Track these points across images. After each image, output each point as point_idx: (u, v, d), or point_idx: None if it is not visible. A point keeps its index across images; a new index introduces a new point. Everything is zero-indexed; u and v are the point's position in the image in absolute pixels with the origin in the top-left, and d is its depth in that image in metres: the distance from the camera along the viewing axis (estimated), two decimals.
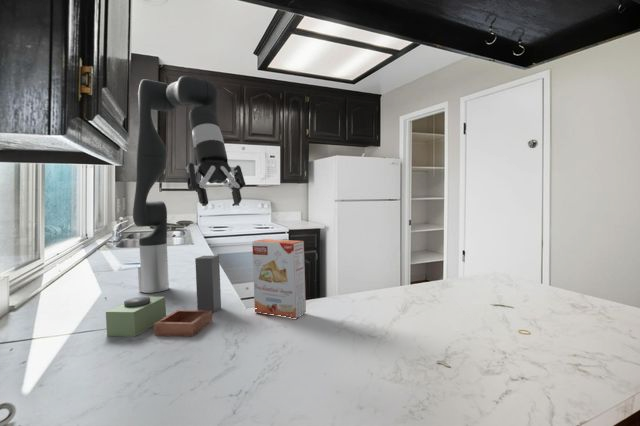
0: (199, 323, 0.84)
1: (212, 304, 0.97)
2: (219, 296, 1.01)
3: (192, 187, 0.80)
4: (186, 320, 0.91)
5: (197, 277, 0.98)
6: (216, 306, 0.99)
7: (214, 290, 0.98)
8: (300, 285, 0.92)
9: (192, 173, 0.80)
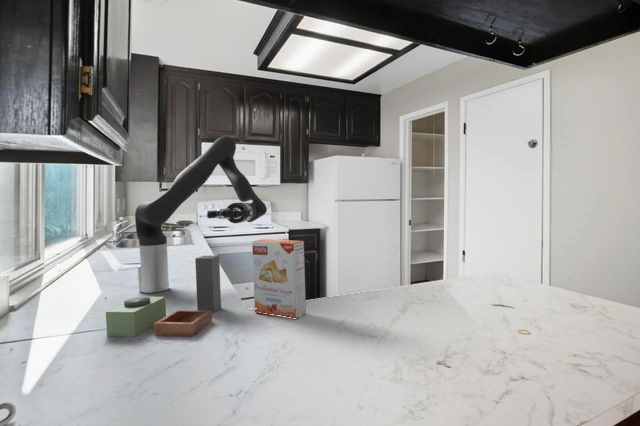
0: (199, 323, 0.84)
1: (212, 304, 0.97)
2: (219, 296, 1.01)
3: None
4: (186, 320, 0.91)
5: (197, 277, 0.98)
6: (216, 306, 0.99)
7: (214, 290, 0.98)
8: (300, 285, 0.92)
9: None
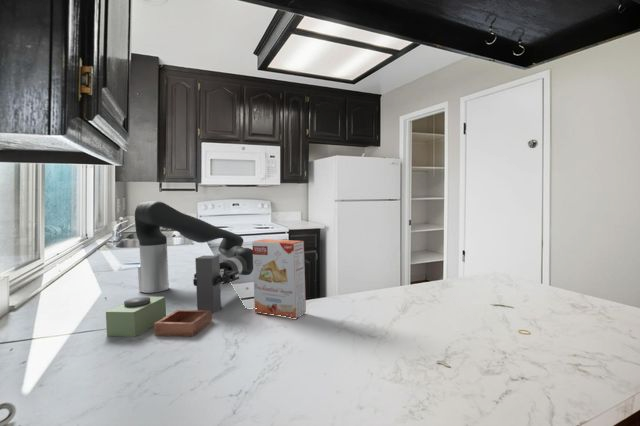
0: (199, 323, 0.84)
1: (212, 304, 0.97)
2: (219, 296, 1.01)
3: (195, 278, 1.02)
4: (186, 320, 0.91)
5: (197, 277, 0.98)
6: (216, 306, 0.99)
7: (214, 290, 0.98)
8: (300, 285, 0.92)
9: None
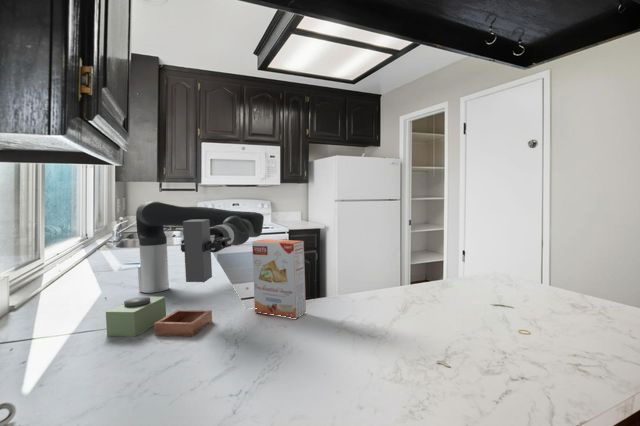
0: (199, 323, 0.84)
1: (202, 272, 0.88)
2: (210, 264, 0.92)
3: None
4: (186, 320, 0.91)
5: (185, 242, 0.88)
6: (206, 275, 0.90)
7: (204, 257, 0.89)
8: (300, 285, 0.92)
9: None
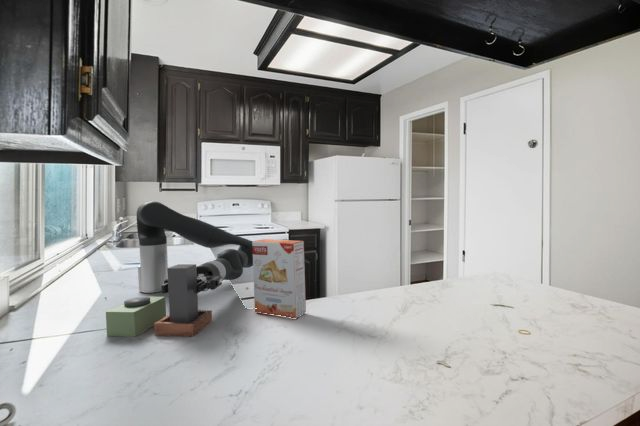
0: (199, 323, 0.84)
1: (187, 321, 0.84)
2: (196, 311, 0.88)
3: (164, 284, 0.89)
4: None
5: (169, 290, 0.84)
6: None
7: (189, 305, 0.84)
8: (300, 285, 0.92)
9: None
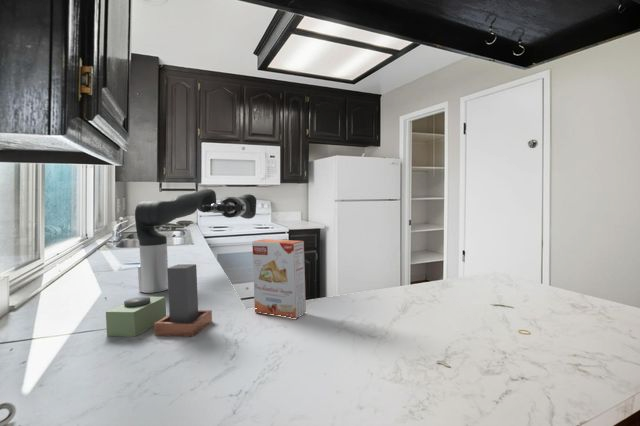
0: (199, 323, 0.84)
1: (187, 321, 0.84)
2: (196, 311, 0.88)
3: None
4: None
5: (169, 290, 0.84)
6: None
7: (189, 305, 0.84)
8: (300, 285, 0.92)
9: None
